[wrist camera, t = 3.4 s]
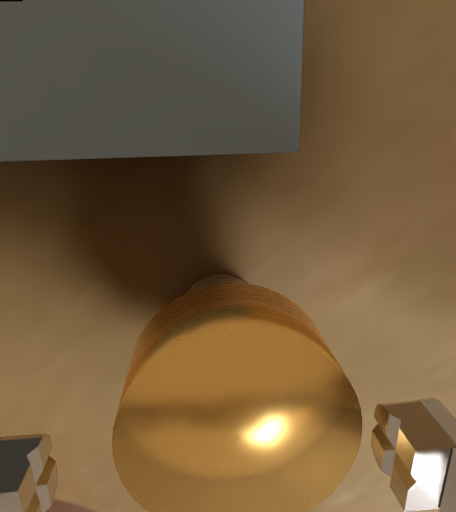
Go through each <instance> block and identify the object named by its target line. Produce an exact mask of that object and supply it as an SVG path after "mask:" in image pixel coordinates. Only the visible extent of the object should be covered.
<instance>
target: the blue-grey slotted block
mask: <svg viewBox="0 0 456 512" xmlns="http://www.w3.org/2000/svg"><path fill="white" fill-rule="evenodd" d="M303 17H304V0H22V1H21V2H0V162H2V161H34V160H66V159H97V158H129V157H161V156H192V155H224V154H256V153H288V152H299V141H300V110H301V79H302V48H303Z"/></svg>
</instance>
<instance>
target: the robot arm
mask: <svg viewBox="0 0 456 512" xmlns="http://www.w3.org/2000/svg"><path fill="white" fill-rule="evenodd" d="M374 417H375V419H376V421H377V422H378V425H377V426H376V427H375V428H374V429H373V430H372V439H371V443H372V449H373V454H374V457H375V459H376V462H377V464H378V466H379V467H380V469H381V471H383V472H384V473H386V474H387V475H388V476H390V477H391V483H390V487H391V489H392V491H393V492H394V494H395V496H396V498H397V499H398V501H399V503H400V505H401V506H402V508H403V510H404V512H406V511H418V510H430V509H440V510H439V511H440V512H456V418H455V417H454V416H453V415H452V414H451V413H450V412H449V411H448V410H447V409H446V408H445V406H444V405H443V404H442V403H441V402H440V401H439V400H437V399H435V398H430V399H420V400H415V401H404V402H393V403H383V404H378V405H377V407H376V408H375V414H374ZM51 449H52V443H51V439H50V435H47V434H35V435H20V436H4V437H0V512H45V511H46V510H47V509H48V508H49V507H50V506H51V505H52V502H53V499H54V496H55V492H56V486H57V466H56V461H55V460H54V459H52V458H51V457H50V456H49V454H50V451H51Z"/></svg>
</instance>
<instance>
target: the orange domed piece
mask: <svg viewBox="0 0 456 512" xmlns="http://www.w3.org/2000/svg"><path fill="white" fill-rule="evenodd" d="M361 436H362V415H361V408H360V405H359V401H358V398H357V395H356V393H355V391H354V389H353V387H352V385H351V383H350V381H349V380H348V378H347V377H346V375H345V373H344V372H343V370H342V368H341V367H340V365H339V364H338V362H337V360H336V359H335V357H334V355H333V354H332V352H331V351H330V349H329V347H328V346H327V344H326V342H325V341H324V339H323V338H322V336H321V334H320V333H319V331H318V329H317V328H316V326H315V325H314V323H313V322H312V320H311V319H310V318H309V316H308V315H307V314H306V313H305V312H304V311H303V310H302V309H301V308H300V307H299V306H298V305H296V304H295V303H294V302H293V301H291V300H290V299H288V298H286V297H285V296H283V295H281V294H279V293H277V292H274V291H272V290H270V289H267V288H263V287H259V286H255V285H249V284H247V283H246V282H244V281H243V280H241V279H240V278H238V277H235V276H232V275H227V274H215V275H210V276H207V277H204V278H202V279H200V280H199V281H197V282H196V283H194V284H193V285H192V286H191V287H190V288H189V290H188V291H187V293H186V294H184V295H183V296H181V297H179V298H177V299H175V300H173V301H172V302H171V303H169V304H168V305H166V306H165V307H164V308H162V309H161V310H160V311H159V312H158V313H157V314H156V315H155V316H154V317H153V318H152V319H151V320H150V322H149V323H148V324H147V325H146V326H145V328H144V330H143V331H142V333H141V334H140V336H139V338H138V340H137V343H136V345H135V347H134V351H133V355H132V358H131V362H130V366H129V370H128V374H127V378H126V381H125V385H124V389H123V393H122V397H121V401H120V404H119V408H118V412H117V416H116V420H115V424H114V427H113V436H112V451H113V458H114V462H115V467H116V470H117V472H118V474H119V477H120V479H121V481H122V483H123V484H124V486H125V488H126V489H127V491H128V492H129V493H130V495H131V496H132V497H133V498H134V499H135V500H136V502H138V503H139V504H140V505H141V506H142V507H143V508H144V509H146V510H147V511H148V512H309V511H310V510H312V509H313V508H315V507H316V506H317V505H319V504H320V503H321V502H323V501H324V500H325V499H326V498H327V497H328V496H329V495H330V494H331V493H333V491H334V490H335V489H336V488H337V487H338V486H339V485H340V483H341V482H342V481H343V479H344V478H345V476H346V475H347V473H348V472H349V470H350V468H351V466H352V464H353V462H354V460H355V458H356V455H357V452H358V449H359V447H360V441H361Z"/></svg>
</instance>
